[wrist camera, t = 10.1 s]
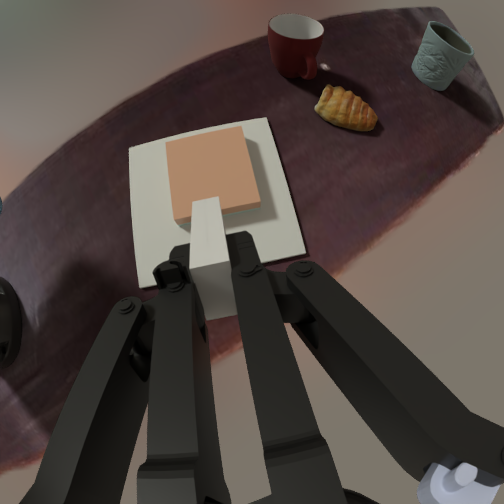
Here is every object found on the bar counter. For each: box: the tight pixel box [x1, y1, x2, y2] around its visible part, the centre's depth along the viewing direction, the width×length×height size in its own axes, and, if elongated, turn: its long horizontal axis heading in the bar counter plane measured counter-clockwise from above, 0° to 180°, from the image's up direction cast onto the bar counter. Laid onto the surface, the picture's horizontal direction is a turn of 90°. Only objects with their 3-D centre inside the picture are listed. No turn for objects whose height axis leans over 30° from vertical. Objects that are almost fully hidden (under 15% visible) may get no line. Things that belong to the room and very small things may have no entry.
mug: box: [268, 14, 324, 80], centre depth 36 cm, size 10×8×10 cm
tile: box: [165, 126, 261, 226], centre depth 35 cm, size 10×2×11 cm
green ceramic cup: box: [412, 21, 474, 91], centre depth 37 cm, size 10×10×12 cm
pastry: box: [315, 85, 378, 131], centre depth 38 cm, size 9×7×4 cm
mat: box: [129, 118, 306, 288], centre depth 36 cm, size 20×20×1 cm
